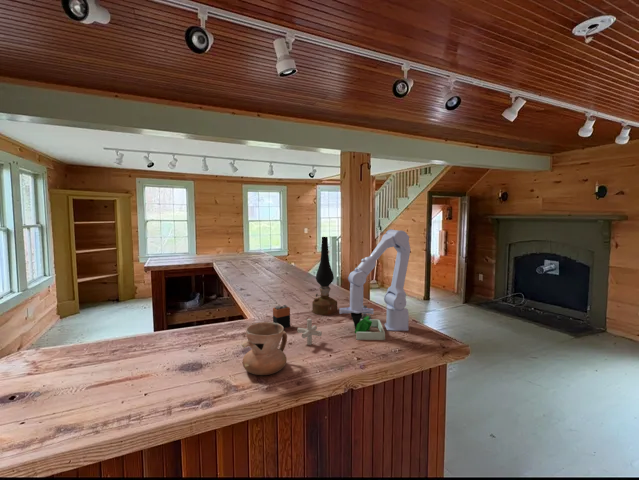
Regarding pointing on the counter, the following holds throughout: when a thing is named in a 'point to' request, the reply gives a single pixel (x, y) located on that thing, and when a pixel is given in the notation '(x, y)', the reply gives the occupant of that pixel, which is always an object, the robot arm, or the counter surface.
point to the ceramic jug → (265, 348)
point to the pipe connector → (309, 331)
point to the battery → (282, 315)
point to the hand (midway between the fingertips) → (356, 329)
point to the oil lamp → (324, 284)
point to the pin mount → (366, 316)
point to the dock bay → (372, 335)
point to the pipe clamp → (363, 325)
